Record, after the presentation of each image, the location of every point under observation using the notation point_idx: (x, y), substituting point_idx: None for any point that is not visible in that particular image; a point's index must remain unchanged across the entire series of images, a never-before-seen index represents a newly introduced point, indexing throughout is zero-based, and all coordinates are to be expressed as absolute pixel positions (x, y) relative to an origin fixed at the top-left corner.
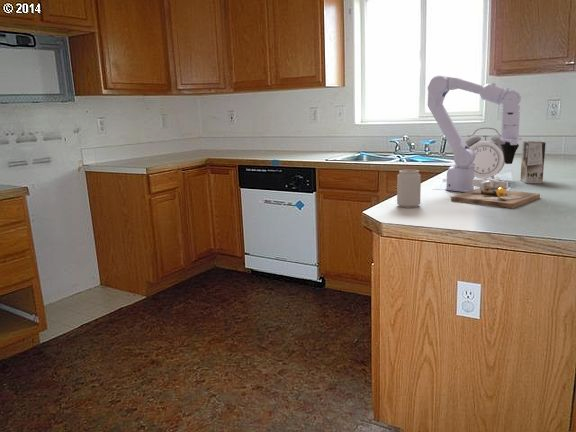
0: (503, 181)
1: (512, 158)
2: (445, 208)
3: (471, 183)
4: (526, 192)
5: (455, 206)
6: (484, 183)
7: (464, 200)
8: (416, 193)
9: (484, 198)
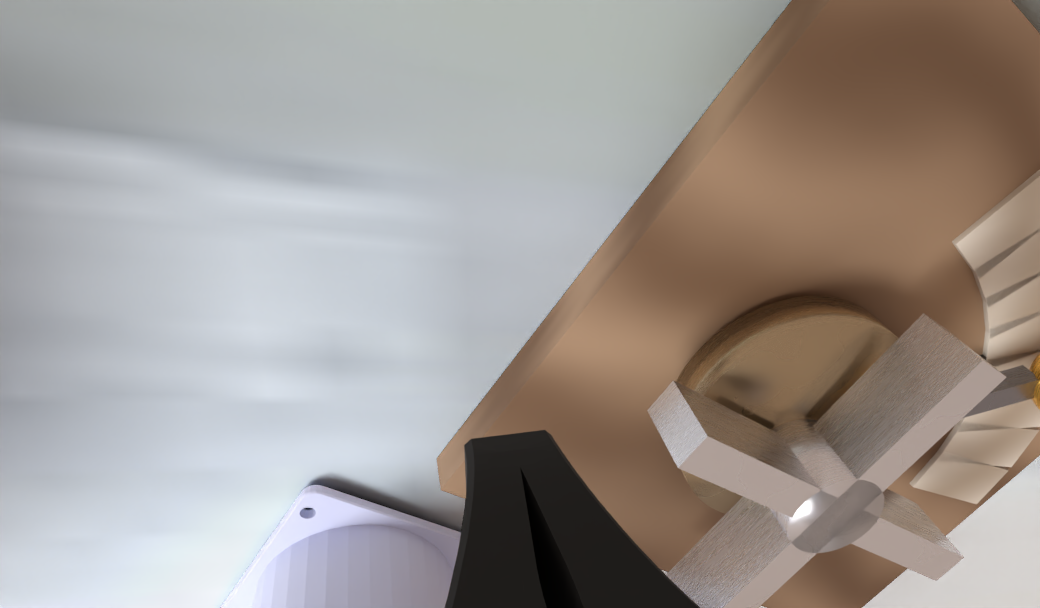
0: (945, 405)
1: (599, 518)
2: (1022, 598)
3: (430, 595)
4: (795, 58)
5: (990, 564)
6: (949, 547)
7: None
8: None
9: (1000, 455)
